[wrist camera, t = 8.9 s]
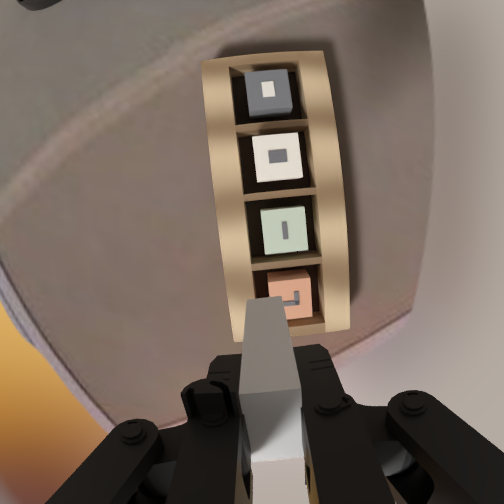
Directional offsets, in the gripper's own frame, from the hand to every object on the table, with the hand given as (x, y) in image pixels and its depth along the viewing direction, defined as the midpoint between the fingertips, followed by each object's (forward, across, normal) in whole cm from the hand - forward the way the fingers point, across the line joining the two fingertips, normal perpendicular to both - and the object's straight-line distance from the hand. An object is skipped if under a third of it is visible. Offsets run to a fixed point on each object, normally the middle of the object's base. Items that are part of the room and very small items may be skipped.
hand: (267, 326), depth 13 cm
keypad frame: (+17, +2, +5) cm, 18 cm away
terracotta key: (+16, +2, -4) cm, 17 cm away
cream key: (+15, +2, +8) cm, 18 cm away
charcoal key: (+16, +2, +14) cm, 22 cm away
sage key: (+16, +2, +2) cm, 16 cm away
